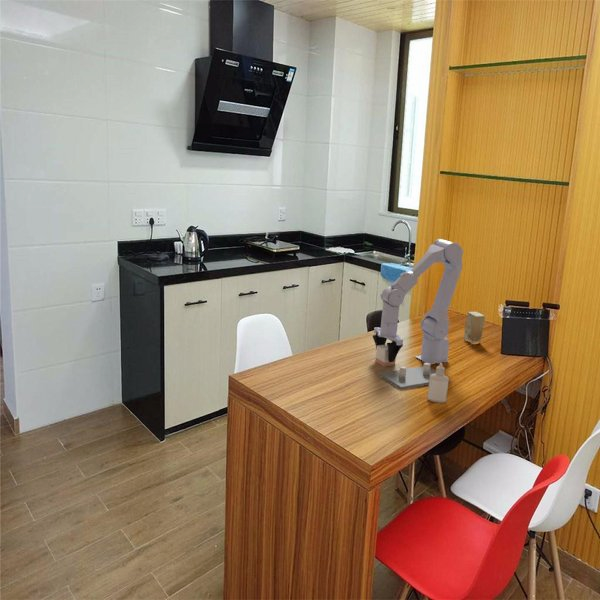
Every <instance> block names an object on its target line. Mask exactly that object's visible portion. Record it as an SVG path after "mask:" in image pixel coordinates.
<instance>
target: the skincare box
mask: <svg viewBox="0 0 600 600" xmlns="http://www.w3.org/2000/svg"><path fill="white" fill-rule="evenodd" d="M485 318H486V316H485V315H484V314H482V313H480V312H478V311H468V312H467V316H466V321H465V328H464V333H463V339H464V338H465V339H466V340H468V341H470V342H471V343H474V342H481V343H482V338H483V337H482V336H483V332H484V331H483V330H484V326H485V325H484V324H485V320H486V319H485Z"/></svg>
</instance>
